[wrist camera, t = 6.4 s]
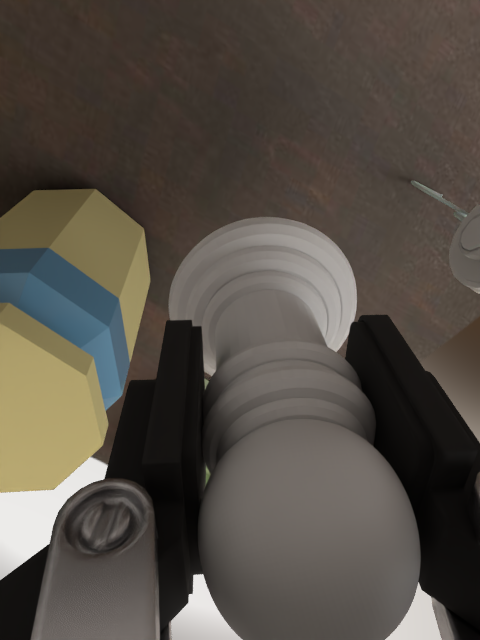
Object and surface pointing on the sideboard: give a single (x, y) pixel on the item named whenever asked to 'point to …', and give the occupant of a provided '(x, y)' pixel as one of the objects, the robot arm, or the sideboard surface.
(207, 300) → the chess piece
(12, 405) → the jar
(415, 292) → the sideboard surface
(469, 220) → the headphones
